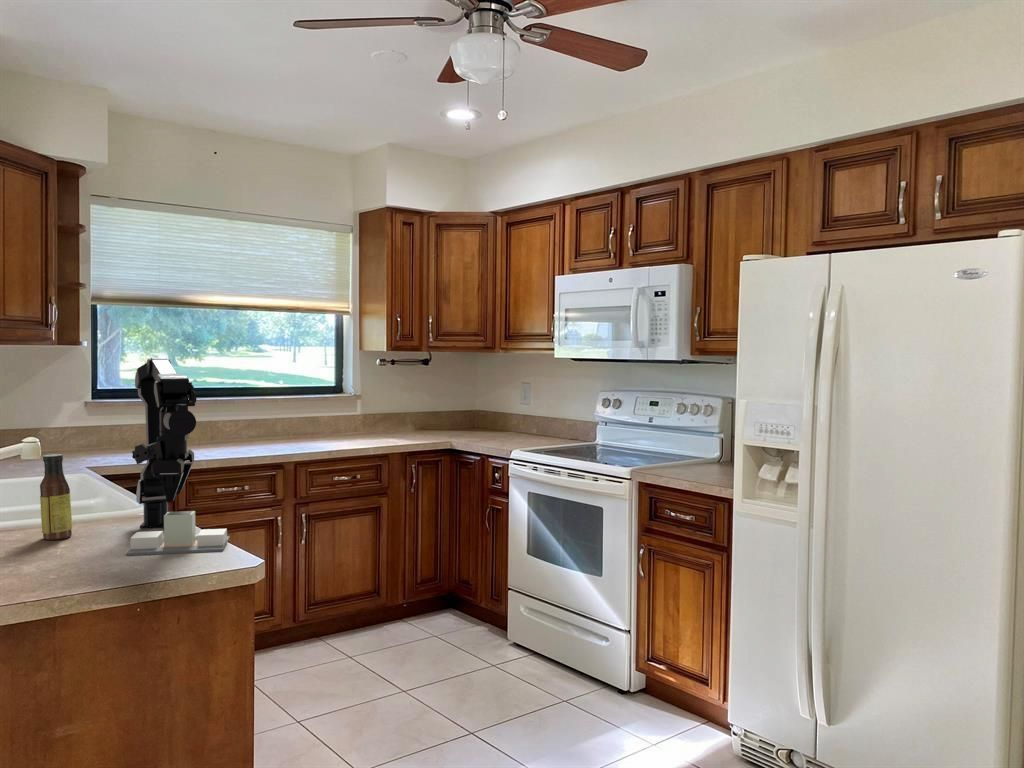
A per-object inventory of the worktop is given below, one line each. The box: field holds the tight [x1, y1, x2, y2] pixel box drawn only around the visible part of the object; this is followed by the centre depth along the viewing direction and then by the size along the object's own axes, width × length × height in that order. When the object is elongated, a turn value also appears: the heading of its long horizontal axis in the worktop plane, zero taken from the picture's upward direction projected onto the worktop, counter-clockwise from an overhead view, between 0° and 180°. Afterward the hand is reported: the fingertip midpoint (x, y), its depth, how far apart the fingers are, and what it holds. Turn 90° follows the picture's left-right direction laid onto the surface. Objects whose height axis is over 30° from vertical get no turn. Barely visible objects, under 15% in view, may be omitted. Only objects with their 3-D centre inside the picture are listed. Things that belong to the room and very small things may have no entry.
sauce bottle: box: [39, 453, 73, 541], centre depth 188 cm, size 7×6×20 cm
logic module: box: [163, 510, 196, 546], centre depth 181 cm, size 4×6×7 cm, turn 103°
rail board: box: [125, 528, 230, 556], centre depth 181 cm, size 12×20×3 cm, turn 103°
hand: (173, 498), depth 182 cm, fingers open, 9 cm apart
